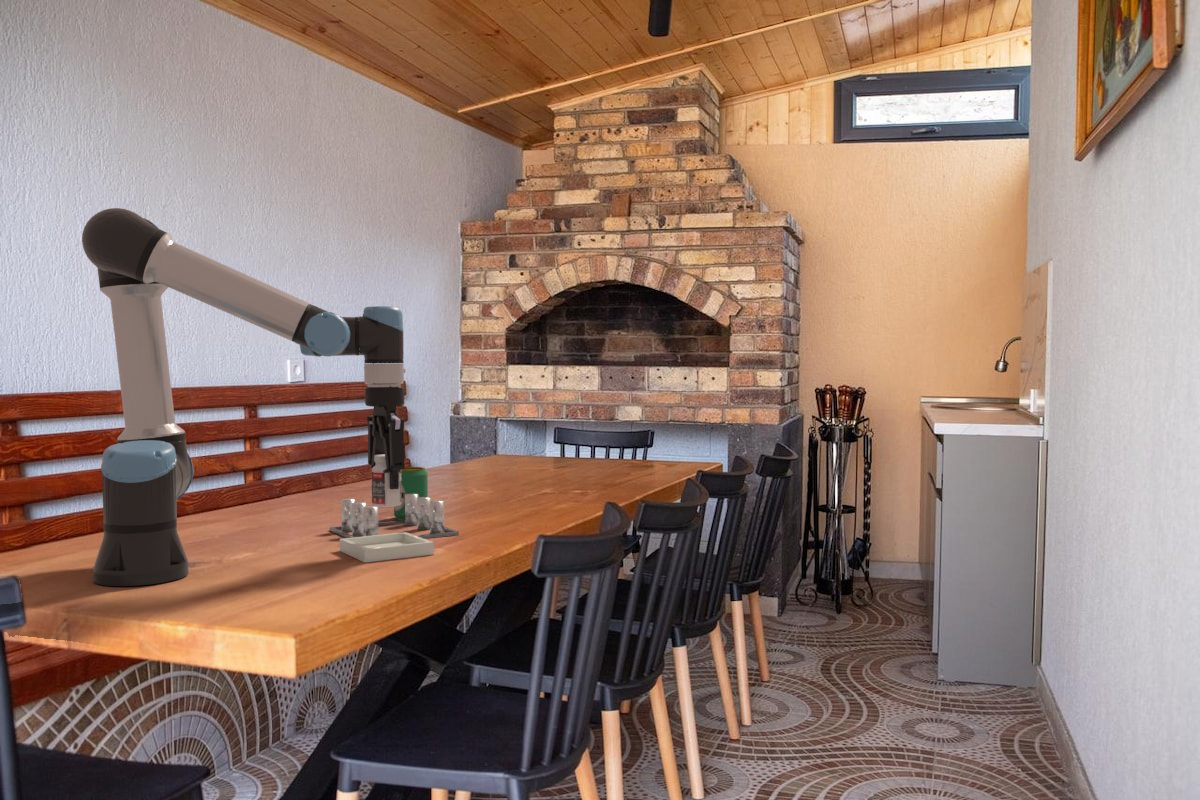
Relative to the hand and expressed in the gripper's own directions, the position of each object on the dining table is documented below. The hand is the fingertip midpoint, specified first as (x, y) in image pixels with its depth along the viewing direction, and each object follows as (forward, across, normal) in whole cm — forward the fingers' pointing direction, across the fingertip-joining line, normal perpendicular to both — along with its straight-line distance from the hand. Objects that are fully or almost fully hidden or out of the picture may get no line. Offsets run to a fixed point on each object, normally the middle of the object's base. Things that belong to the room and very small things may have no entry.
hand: (386, 503), depth 198 cm
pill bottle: (+1, 0, 0) cm, 1 cm away
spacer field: (+10, +22, -10) cm, 26 cm away
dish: (+10, 0, 0) cm, 10 cm away
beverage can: (+10, +38, -21) cm, 45 cm away
